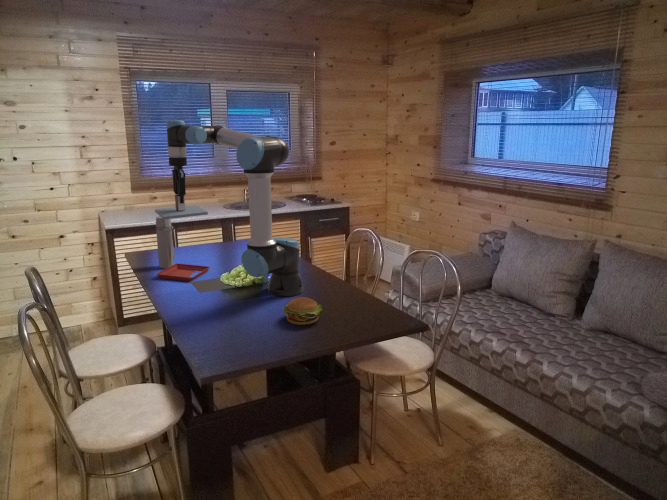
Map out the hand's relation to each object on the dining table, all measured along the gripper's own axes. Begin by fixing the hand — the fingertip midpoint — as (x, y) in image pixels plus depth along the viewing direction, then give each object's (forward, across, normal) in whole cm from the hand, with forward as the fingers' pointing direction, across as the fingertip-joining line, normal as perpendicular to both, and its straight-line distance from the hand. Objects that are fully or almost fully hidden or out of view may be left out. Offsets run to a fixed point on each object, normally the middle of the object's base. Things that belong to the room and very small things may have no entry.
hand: (180, 209), depth 226 cm
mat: (+31, -20, -8) cm, 38 cm away
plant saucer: (+32, 0, 0) cm, 32 cm away
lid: (+2, 0, 0) cm, 2 cm away
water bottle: (+32, +17, +3) cm, 36 cm away
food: (+31, -73, -25) cm, 83 cm away
